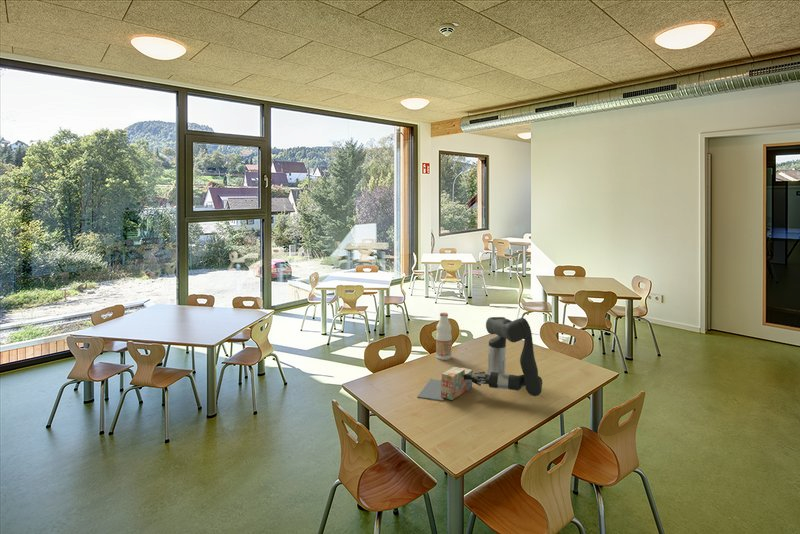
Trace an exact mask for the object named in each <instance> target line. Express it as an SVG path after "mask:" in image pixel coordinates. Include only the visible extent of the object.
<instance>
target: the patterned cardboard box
mask: <svg viewBox="0 0 800 534" xmlns="http://www.w3.org/2000/svg"><path fill="white" fill-rule="evenodd" d="M473 372H474V371H473V369H470V368H467V367H466V368H465V367H461V368H460V367H456V366H452V367H451V368H450V369H448V370H446V371H443V373H442V374H441V380H442V383H441V385H442V386H441V397H443V398H445V400H449V401H452V400H455V399H456V398H458V397H459V396H461V395H462V394H463V393H465V392H466V391H468V390H469V389H471V388H473V382H472V381H471V380H468V379H464V375H465V374H470V375H472V374H474V373H473Z"/></svg>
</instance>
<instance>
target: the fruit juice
mask: <svg viewBox="0 0 800 534" xmlns="http://www.w3.org/2000/svg"><path fill="white" fill-rule="evenodd" d="M448 317H449V313H448V312H440V313H439V321H438V323H437V324H436V337H435V345H436V346H435V357H436V358H437V359H438V360H443V361H446V360H451V359H452V337H453V336H452V333H451V331H452V324H451V323H450V321H449V318H448Z"/></svg>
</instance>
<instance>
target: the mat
mask: <svg viewBox="0 0 800 534" xmlns="http://www.w3.org/2000/svg"><path fill="white" fill-rule="evenodd" d="M441 383H442V379H434V378H430V379H429V380H428V382H427V383H426V384H425V385H424V387H423V388H422V390H421V391H420V393H419V394H418V395H417V398H418V399H423V398H424V399H423V400H432V401H439V402H444V400H446V398H443V397H441V386H442V385H441Z"/></svg>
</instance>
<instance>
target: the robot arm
mask: <svg viewBox="0 0 800 534" xmlns="http://www.w3.org/2000/svg"><path fill="white" fill-rule="evenodd" d="M485 329H486V331H487V333H488V334H490V335H496V336H495V337H493V338H491V339H489V340H488V353H487V354H488V355H487V356H488V359H487V361H488V364H487V373H486V372H485V371H481V372H479V371H478V372H474V373H472V375H470V374H465V375H464V379H468V380H471V381H472V384H475V385H477V386H480V387H481V386H482V385H488V387H489V388H491V389H498V390H511V391H520V390H521V388H522V387H525V389H526V392H527V393H528V394H529V395H530V396H532V397H537V396H539V395H540V394H541V393H542V389H543V379H542V377H541V376H540V375H539V370H538V369H539V368H538V365H537V362H536V359H535V357H536V356H535V352H534V342H533V334H532V329H531V326H530V323H529V322H528V321H527V320H526V318H524V317H519V318H516V319H514V320H510V319H508V318H506V317H504V316H494V317H493V316H492V317H488V318H487V320H486V322H485ZM507 340H508V341H509V342H510V343H517V342H520V341H523V347H522V350H521V354H520V357H519V364H520V367H521V371H522V374H520V375H515V374H508V373H506V369H507V368H506V367H507V365H506V364H507V358H506V349H507V348H506V347H507V345H506V344H507Z"/></svg>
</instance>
